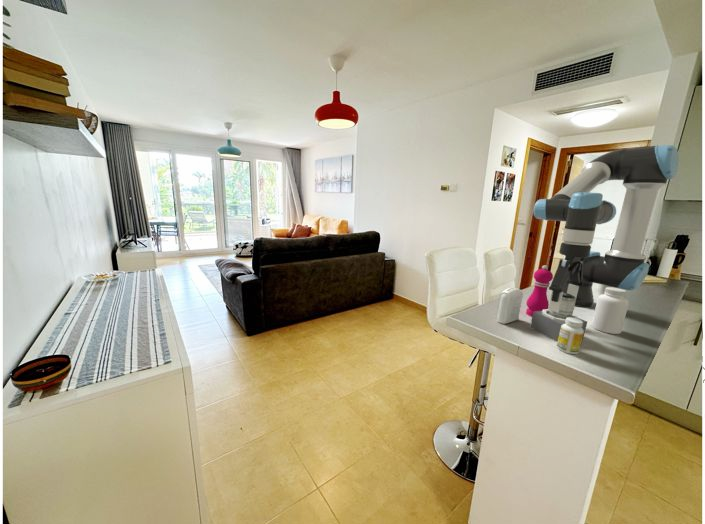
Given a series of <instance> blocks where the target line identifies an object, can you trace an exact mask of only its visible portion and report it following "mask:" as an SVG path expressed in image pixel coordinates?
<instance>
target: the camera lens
mask: <svg viewBox="0 0 705 524" xmlns="http://www.w3.org/2000/svg"><path fill="white" fill-rule="evenodd" d="M575 302H576V298H575V297H574V296H573V295H571V294H568V293H564V292H563V295H562V300H561V304H560V309H559V312H555V311H552V310H550V315H551V316H553V317H556V318H561V319H566V318H567V317H572V315H574V310H575V307H576V306H575Z"/></svg>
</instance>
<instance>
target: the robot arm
mask: <svg viewBox="0 0 705 524" xmlns="http://www.w3.org/2000/svg"><path fill="white" fill-rule="evenodd" d="M678 169H679V152H678V149H677V147H676V146H674V145H666V144H664V145H651V146H642V147H641V146H640V147H631V148H619V149H616V150H612V151H609V152H607V153H603V154H601V155H600V156H597V157H596V158H595V159H592V160H591V161H589V162H588V163H586V165H584V166H583V167H582V169H581V172H580V173H579V174H578V175H577V176H575V177H574V178H573V179H572V180H570V182H568V183H567V184H566V185H565V186H564V187H562V188H561V189H560V190H559V191H558V192H557V193H555V194H554V195H553V196H552V197H550V198H541V199H538V200H537V201H536V202H535V204H534V205H533V206H534V207H533V212H532V213H533V216H534V217H535V219H538V220H545V221H554V222H556V221H557V222H565V225H564V230H562V231H561V234H562V239H561V240H562V241H563V242H561V243H560V247H559V252H558V253H559V254H560V255H561V256H562V255H563V256H564V259H561V258H560V259H559V262H558V266H557V268H556V270H555V273H554V276H553V278H552V280H551V283H550V285H549V287H548V290H550V291H551V295H550V298H549V299H550V300H549V302H548V303H549V306H548V310H552V311H555V312H559V309H560V304H561V300H562V295H563V292H564V293H568V294H571V295H573V296H574V297H575V298H576V302H575V306H574V307H583V308H584V307H586V308H587V307H593V305H594V303H595V302H594V301H595V300H594V293H593V285H594V284H598V285H602V286H606V287H613V288H619V289H623V290H625V291H635V290H636V289H638V288H639V287H640V286H641V285H642V283H643V282H644V280H645V279H646V277H647V275H648V273H649V271H650V264H649V263H647V262H646V261H645V260H646V257H645V256H644V254H642V250H643V246H644V243H645V240H646V235H647V231H648V229H649V225H650V221H651V217H652V214H653V210H654V206H655V203H656V200H657V196H658V192H659V190H660V189H661V188H663V187H664V186H666V185H667V182H668V180H673V179H674V178H675V177H676V175H677V172H678ZM607 181H623V182H622V185H623V186H624V187H625V189H626V191H625V194H624V199H623V201H622V202H623V203H622V206H621V211H620V213H619V214H620V215H619V217H618V222H617V226H616V231H615V234H614V238H613V242H612V245H611V249H609V250H608V251H606V252H605V253H604V256H601V252H599V251H591V250H592V249H591V248H592V246H591V244H593V241H594V236H595V232H596V228H597V225H603V224H606V223H609V222H611V221H612V220H613V219H614V218H615V217H616V214H617V208H616V206H615V205H614V203H612V202H610V201H607V200H603V194H602V193H600V192H592V191H593V190H594V189H595V188H596V187H597V186H599V185H601V184H602V185H603V184H604V183H606V182H607Z"/></svg>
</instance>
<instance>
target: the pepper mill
mask: <svg viewBox="0 0 705 524" xmlns="http://www.w3.org/2000/svg"><path fill="white" fill-rule="evenodd" d="M553 278H554V276H553V272H552V271H551V270H548V265H546V264H545V265H542V266H541V268H540V269H539V268H538V269H536V270H535V272H533V279H534V281H533V285H534V288H533V291H532V292H531V294H530V295H529V296H528V298H527V300H526V306H527V307H528V308H526V311H525V314H526V315H528V316H530V317H531V318H532V317H533V312H534V311H542V310H543V309H548V308H549V303H550V302H549V298H548V294H547V293H548V289H549V287H550V285H551V283H550V282H552V281H553Z"/></svg>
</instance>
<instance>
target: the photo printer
mask: <svg viewBox="0 0 705 524" xmlns="http://www.w3.org/2000/svg"><path fill="white" fill-rule="evenodd" d="M523 295H524V293H523V290H521V289H520V288H517V287H509V288H506V289H504V290H503V291H502V292H501V293H500V294H499V298H498V303H497V308H496V309H497V310H496V315H495V321H496V322H497V323H500V324H503V325H504V324H509V323H512V322H515V321H517V320H518V319H519V317H520V312H521V306H522V301H523V297H524V296H523Z"/></svg>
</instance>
